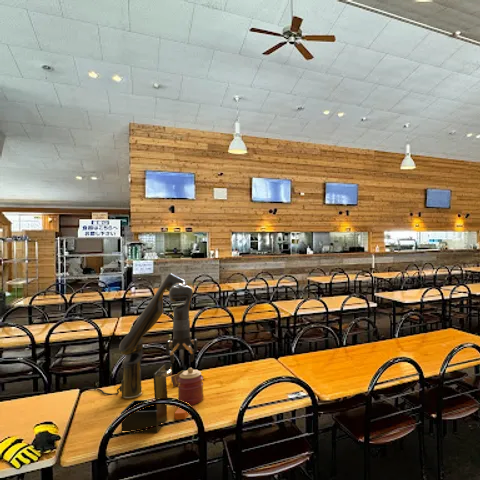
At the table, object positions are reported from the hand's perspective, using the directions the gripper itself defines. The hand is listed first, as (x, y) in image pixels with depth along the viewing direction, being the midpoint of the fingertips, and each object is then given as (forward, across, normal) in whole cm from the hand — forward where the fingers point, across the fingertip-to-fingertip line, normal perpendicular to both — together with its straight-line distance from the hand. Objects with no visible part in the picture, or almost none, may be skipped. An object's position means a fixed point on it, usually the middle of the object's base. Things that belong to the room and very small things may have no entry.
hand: (182, 361), depth 181 cm
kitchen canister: (+28, 0, -23) cm, 37 cm away
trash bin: (+28, +17, +2) cm, 33 cm away
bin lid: (+10, +10, +3) cm, 14 cm away
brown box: (+28, +7, -49) cm, 57 cm away
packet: (+28, +2, -6) cm, 29 cm away
